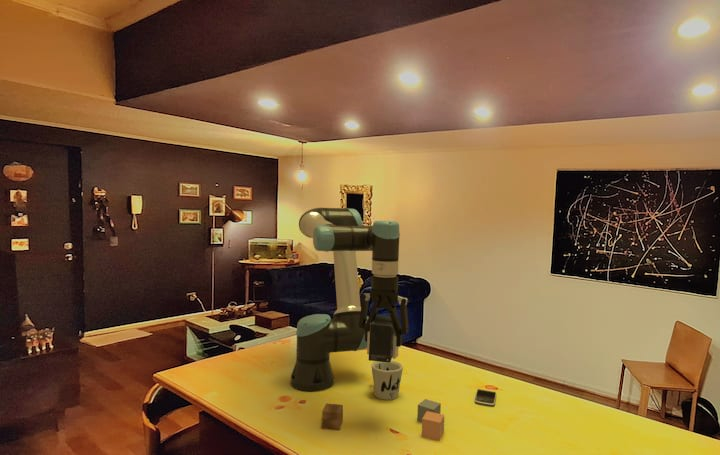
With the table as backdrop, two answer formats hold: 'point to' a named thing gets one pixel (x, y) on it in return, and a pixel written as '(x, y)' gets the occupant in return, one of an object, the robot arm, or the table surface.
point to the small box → (381, 339)
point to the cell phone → (485, 397)
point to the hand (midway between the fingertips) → (382, 354)
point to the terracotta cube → (433, 425)
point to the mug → (386, 379)
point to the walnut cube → (332, 416)
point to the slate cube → (427, 408)
